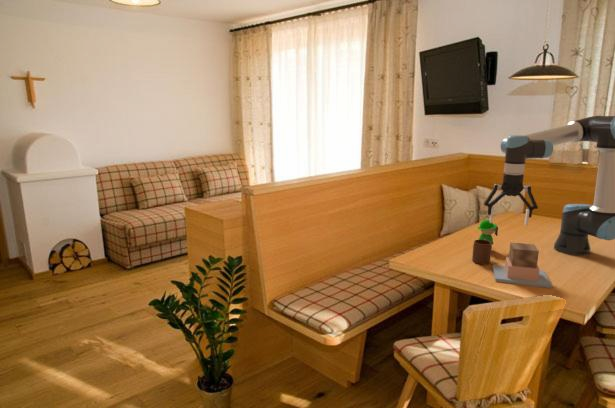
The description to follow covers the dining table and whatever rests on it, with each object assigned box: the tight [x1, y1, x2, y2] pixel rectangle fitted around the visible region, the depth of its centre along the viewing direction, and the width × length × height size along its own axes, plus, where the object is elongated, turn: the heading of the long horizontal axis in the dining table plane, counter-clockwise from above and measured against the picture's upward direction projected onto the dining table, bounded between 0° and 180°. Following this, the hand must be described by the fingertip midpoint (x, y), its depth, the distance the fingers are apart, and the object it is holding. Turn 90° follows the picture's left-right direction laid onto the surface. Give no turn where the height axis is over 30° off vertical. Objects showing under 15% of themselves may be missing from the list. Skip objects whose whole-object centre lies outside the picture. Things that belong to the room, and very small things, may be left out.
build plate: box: [492, 256, 553, 289], centre depth 175 cm, size 20×16×6 cm
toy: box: [477, 219, 499, 245], centre depth 208 cm, size 9×9×15 cm
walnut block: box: [508, 242, 540, 268], centre depth 174 cm, size 9×9×7 cm
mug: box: [471, 239, 493, 265], centre depth 194 cm, size 12×8×9 cm, turn 146°
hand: (508, 223), depth 179 cm, fingers open, 13 cm apart
